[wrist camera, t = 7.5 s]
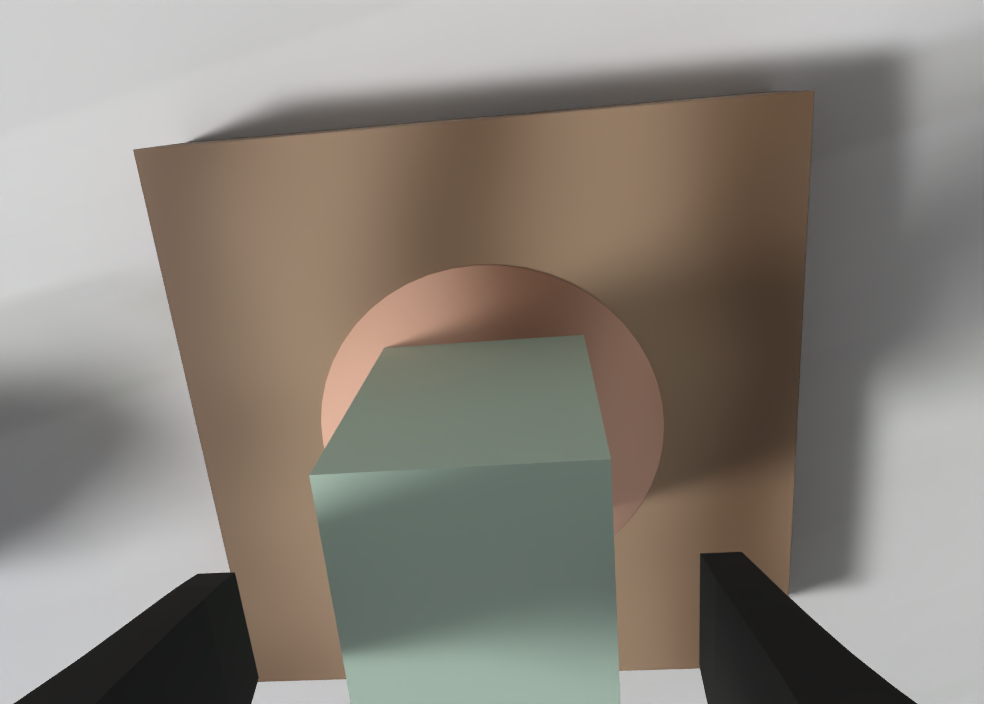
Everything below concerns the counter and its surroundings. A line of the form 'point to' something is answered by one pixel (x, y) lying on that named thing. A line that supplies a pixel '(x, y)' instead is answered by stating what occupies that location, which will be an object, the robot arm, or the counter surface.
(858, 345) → the counter surface
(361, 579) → the sage block
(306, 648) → the walnut base
